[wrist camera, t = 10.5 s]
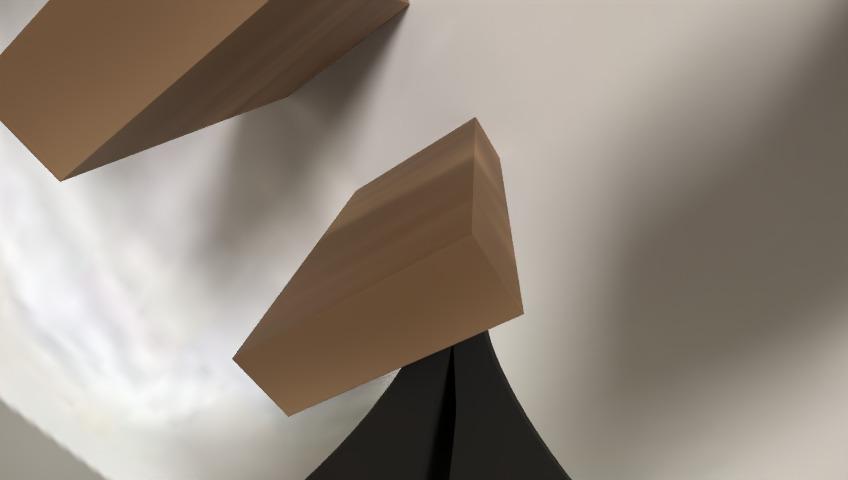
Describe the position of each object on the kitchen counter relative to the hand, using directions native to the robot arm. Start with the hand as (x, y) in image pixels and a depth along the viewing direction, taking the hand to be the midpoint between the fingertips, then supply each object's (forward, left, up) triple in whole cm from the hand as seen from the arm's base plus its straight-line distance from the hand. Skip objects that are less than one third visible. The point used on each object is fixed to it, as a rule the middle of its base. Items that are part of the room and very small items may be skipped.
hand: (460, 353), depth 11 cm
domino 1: (+8, -3, -6) cm, 11 cm away
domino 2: (+3, -1, -6) cm, 7 cm away
